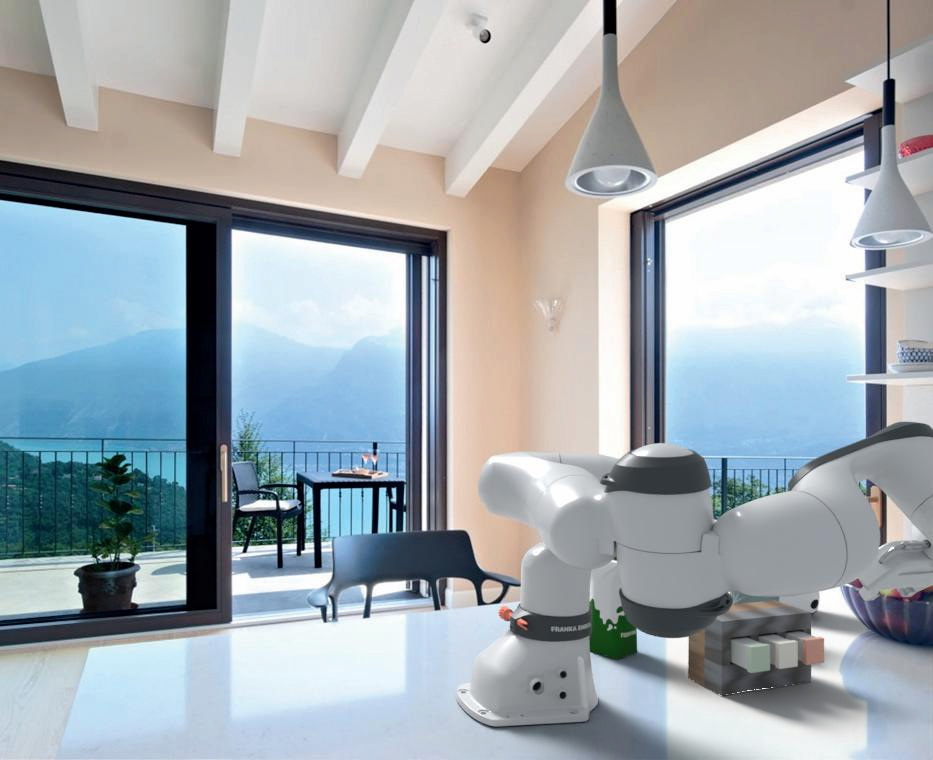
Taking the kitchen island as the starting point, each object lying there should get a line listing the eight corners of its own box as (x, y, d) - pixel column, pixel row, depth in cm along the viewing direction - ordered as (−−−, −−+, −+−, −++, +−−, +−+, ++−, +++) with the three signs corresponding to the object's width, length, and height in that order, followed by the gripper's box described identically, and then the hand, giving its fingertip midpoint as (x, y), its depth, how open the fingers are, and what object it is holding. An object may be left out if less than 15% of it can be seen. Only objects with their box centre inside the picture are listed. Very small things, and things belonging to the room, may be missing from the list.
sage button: (751, 673, 107) (751, 647, 107) (728, 662, 112) (729, 638, 112) (770, 670, 109) (770, 645, 109) (747, 660, 113) (747, 635, 113)
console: (721, 696, 110) (722, 621, 111) (688, 678, 117) (688, 608, 118) (811, 682, 117) (811, 612, 118) (774, 666, 125) (774, 600, 126)
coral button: (806, 665, 112) (806, 640, 112) (783, 655, 116) (783, 631, 116) (824, 662, 113) (824, 638, 113) (800, 653, 117) (800, 629, 118)
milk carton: (619, 662, 124) (621, 553, 125) (578, 649, 131) (581, 545, 132) (644, 652, 130) (645, 547, 131) (604, 640, 137) (606, 540, 138)
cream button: (779, 669, 109) (779, 643, 110) (756, 658, 114) (756, 634, 114) (797, 666, 111) (797, 641, 111) (774, 656, 115) (774, 632, 115)
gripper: (914, 564, 87) (847, 619, 96) (1014, 557, 95) (943, 608, 103) (882, 524, 92) (820, 580, 100) (979, 520, 99) (914, 572, 108)
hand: (883, 594), depth 102 cm, fingers open, 7 cm apart
